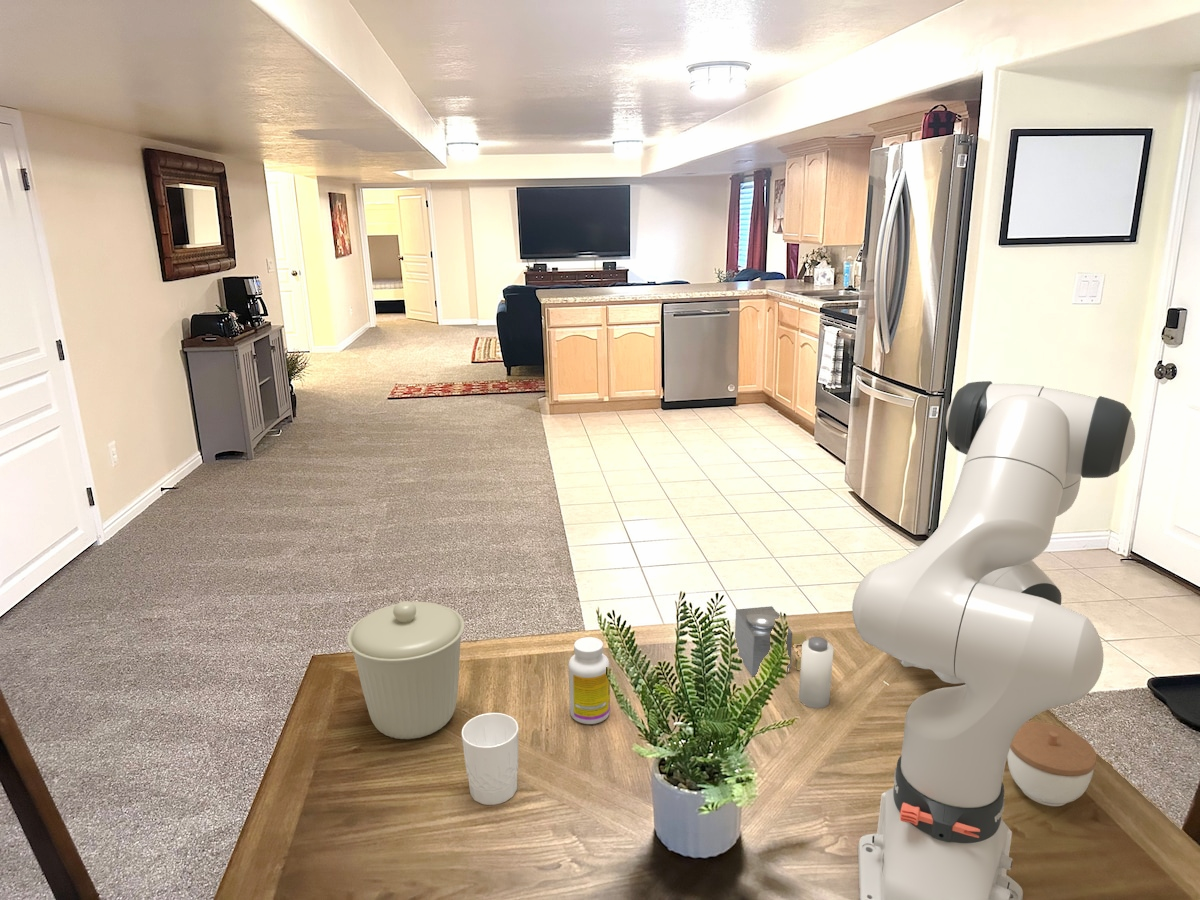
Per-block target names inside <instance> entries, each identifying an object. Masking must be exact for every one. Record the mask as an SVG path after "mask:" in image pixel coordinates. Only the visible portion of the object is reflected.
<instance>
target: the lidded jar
mask: <svg viewBox="0 0 1200 900" xmlns="http://www.w3.org/2000/svg"><path fill="white" fill-rule="evenodd" d="M1097 759H1098V756H1097V752H1096V750H1095V749H1094V747H1093V746H1092V745H1091V744H1090V743H1089V742H1088V740H1086V739H1085V738H1083V736H1080V735H1079V734H1078V733H1077V732H1074V731H1072V730H1071V729H1068V728H1065V727H1064V726H1059V725H1057V724H1053V723H1049V722H1042V721H1027V722H1026V723H1025V724H1024V725H1023V726H1022V727H1021V728H1020V729H1019V730H1018V731H1017V733H1016V734H1015V736H1014V738H1013V740H1012V743H1011V746H1010V749H1009V752H1008V756H1007V760H1006V761H1007V765H1008V770H1009V773H1010V775H1011V778H1012V779H1013V781H1014V782H1015V784H1016V785H1017V786H1018V787H1019V788H1020V790H1021V792H1022V793H1023V794H1024V796H1025V797H1027V798H1029V799H1030V800H1032V801H1034V802H1035V803H1038V804H1040V805H1043V806H1048V807H1062V806H1065V805H1066V804H1069V803H1071V802H1074V801H1076V800H1077V799H1079V798H1080V797H1082V796H1083V794H1084V793H1085V792H1086V791H1087V789H1088V788H1089V785H1090V784H1091V780H1092V778H1093V774H1094V772H1095V771H1094V770H1095V767H1096V765H1097Z"/></svg>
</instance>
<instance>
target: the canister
mask: <svg viewBox="0 0 1200 900" xmlns="http://www.w3.org/2000/svg"><path fill="white" fill-rule="evenodd" d="M465 627H466V624H465V620H464V618H463V616H462V615H461V614H460V613H459V612H458V611H456V610H454V609H453V608H451V607H448V606H446V605H445V606H444V605H441V604H439V603H434V602H429V601H409V600H404V601H400V602H397V603H394V604H391V605H387V606H384V607H381V608H378V609H376V610H373V611H372V612H370V613H369V614H367V615H365V616H364V617H362V618H360V619H359V620H357V622H355V623H354V624H353V625H352V626H351V628H350V630H348V632H347V636H346V644H347V647H348V648H349V650H350V651H351V652H352V653H353V656H354V660H355V664H356V669H357V673H358V678H359V681H360V685H361V689H362V692H363V693H362V694H363V697H364V700H365V704H366V707H367V710H368V714H369V717H370V720H371V722H372V724H373V726H374V727H375V728H376V729H377V730H378V731H379V732H380V733H382V734H383V735H385V736H387V737H389V738H394V739H397V740H398V739H400V740H412V739H413V740H415V739H420V738H423V737H427V736H428V735H429V736H430V735H432V734H433V733H436V732H438V731H439V730H441V729H442V728H443V727H444V726H446V725H447V724H448V722H449V721H450V720H451V718H452V717H453V716H454V713H455V710H456V708H457V701H458V689H459V680H460V678H459V675H460V658H461V639H462V638H461V637H462V636H463V634H464V632H465V629H466V628H465Z"/></svg>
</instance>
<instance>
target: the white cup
mask: <svg viewBox="0 0 1200 900" xmlns="http://www.w3.org/2000/svg"><path fill="white" fill-rule="evenodd" d="M461 742H462V748H463V756H464V764H465V769H466V775H467V779H468V785H469V786H468V787H469V793H470V796H471V797H472V798H473V800H474V801H475V802H477V803H480V804H482V805H487V806H496V805H499V804H503V803H505V802H507V801H508V800H510V799H511V798H512V797H514V795H515V793H516V792H517V790H518V771H519V724H518V722H517V720H516V719H515V718H513V717H512V716H510V715H509V714H506V713H501V712H486V713H483V714H479V715H477V716H474V717H471V719H469V720H467V722H466V723H464V725H463V726H462V729H461Z"/></svg>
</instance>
